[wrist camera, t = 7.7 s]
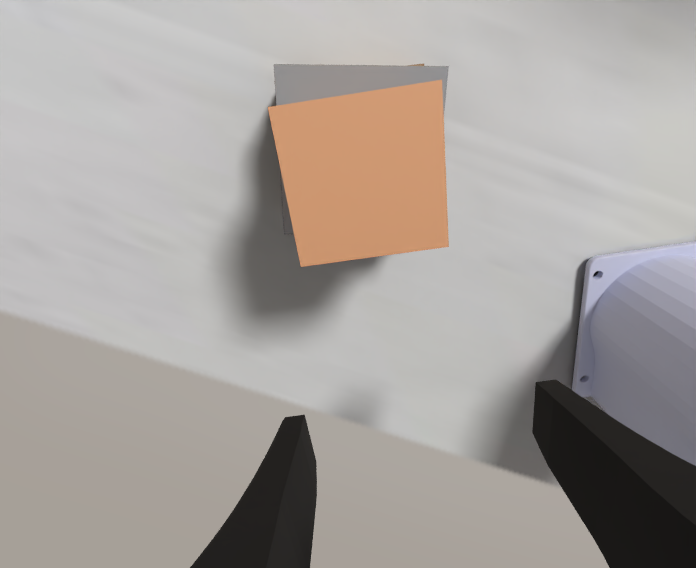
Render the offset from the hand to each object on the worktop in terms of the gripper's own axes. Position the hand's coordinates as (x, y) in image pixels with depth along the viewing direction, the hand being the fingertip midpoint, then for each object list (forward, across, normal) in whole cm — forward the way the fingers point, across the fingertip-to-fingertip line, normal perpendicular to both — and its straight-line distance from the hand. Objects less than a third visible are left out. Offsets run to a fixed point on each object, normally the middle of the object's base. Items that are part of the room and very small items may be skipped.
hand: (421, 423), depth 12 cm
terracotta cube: (+6, +1, -7) cm, 9 cm away
